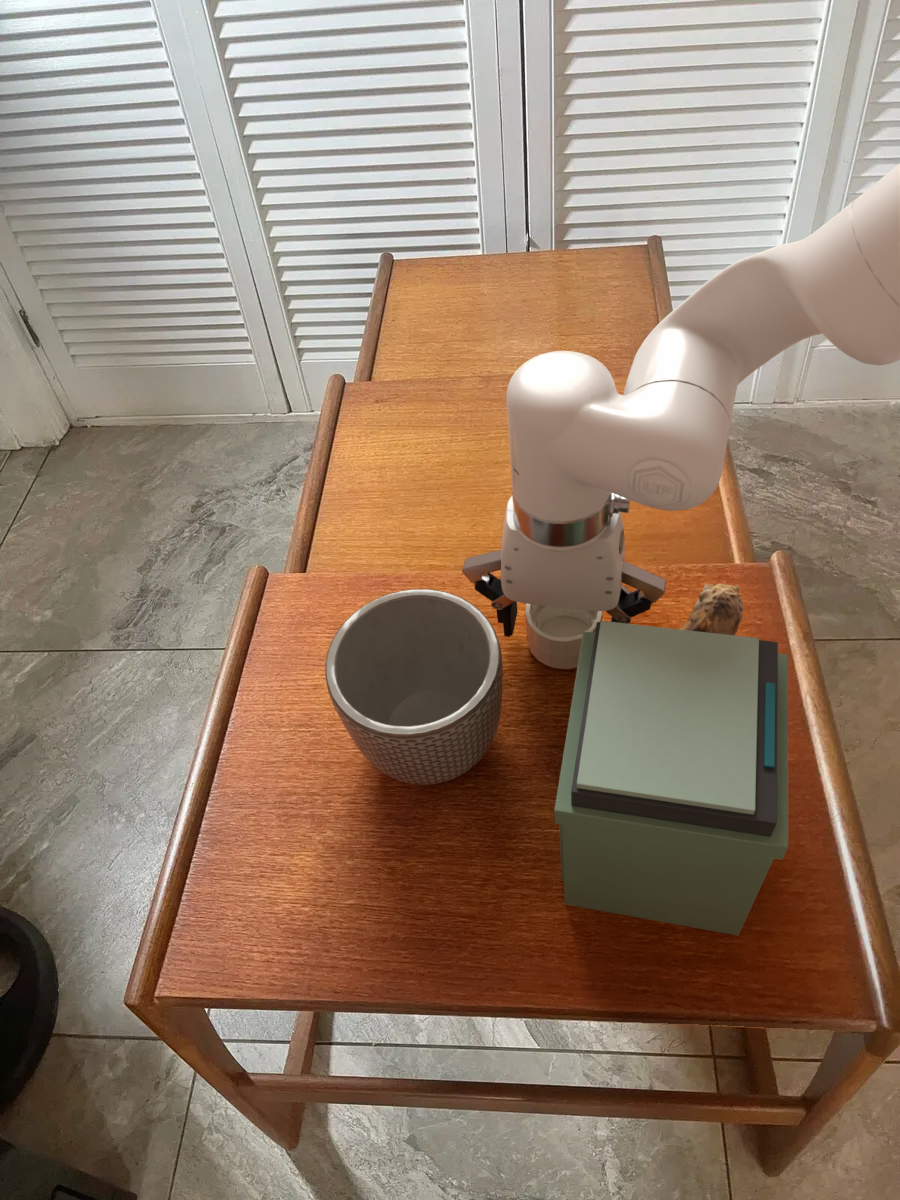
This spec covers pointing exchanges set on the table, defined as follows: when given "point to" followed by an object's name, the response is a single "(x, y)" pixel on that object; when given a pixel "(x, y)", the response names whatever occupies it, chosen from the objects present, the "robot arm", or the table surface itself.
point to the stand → (664, 845)
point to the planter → (418, 684)
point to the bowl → (558, 633)
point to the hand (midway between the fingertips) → (562, 630)
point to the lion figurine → (716, 610)
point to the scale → (680, 728)
